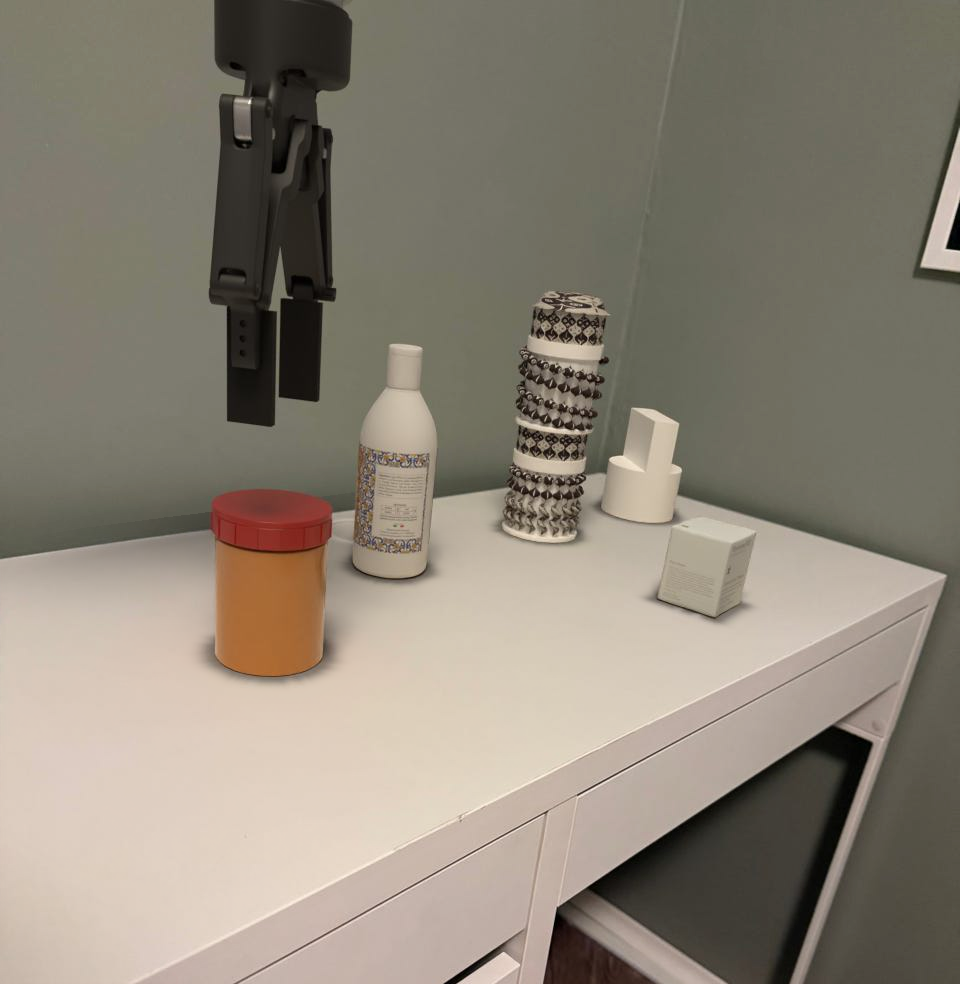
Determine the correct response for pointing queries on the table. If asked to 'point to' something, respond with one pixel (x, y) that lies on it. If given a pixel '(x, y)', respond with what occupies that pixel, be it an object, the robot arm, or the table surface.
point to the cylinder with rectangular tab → (644, 470)
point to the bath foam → (396, 474)
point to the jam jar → (269, 608)
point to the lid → (271, 519)
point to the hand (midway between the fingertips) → (276, 410)
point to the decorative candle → (555, 416)
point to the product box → (706, 565)
